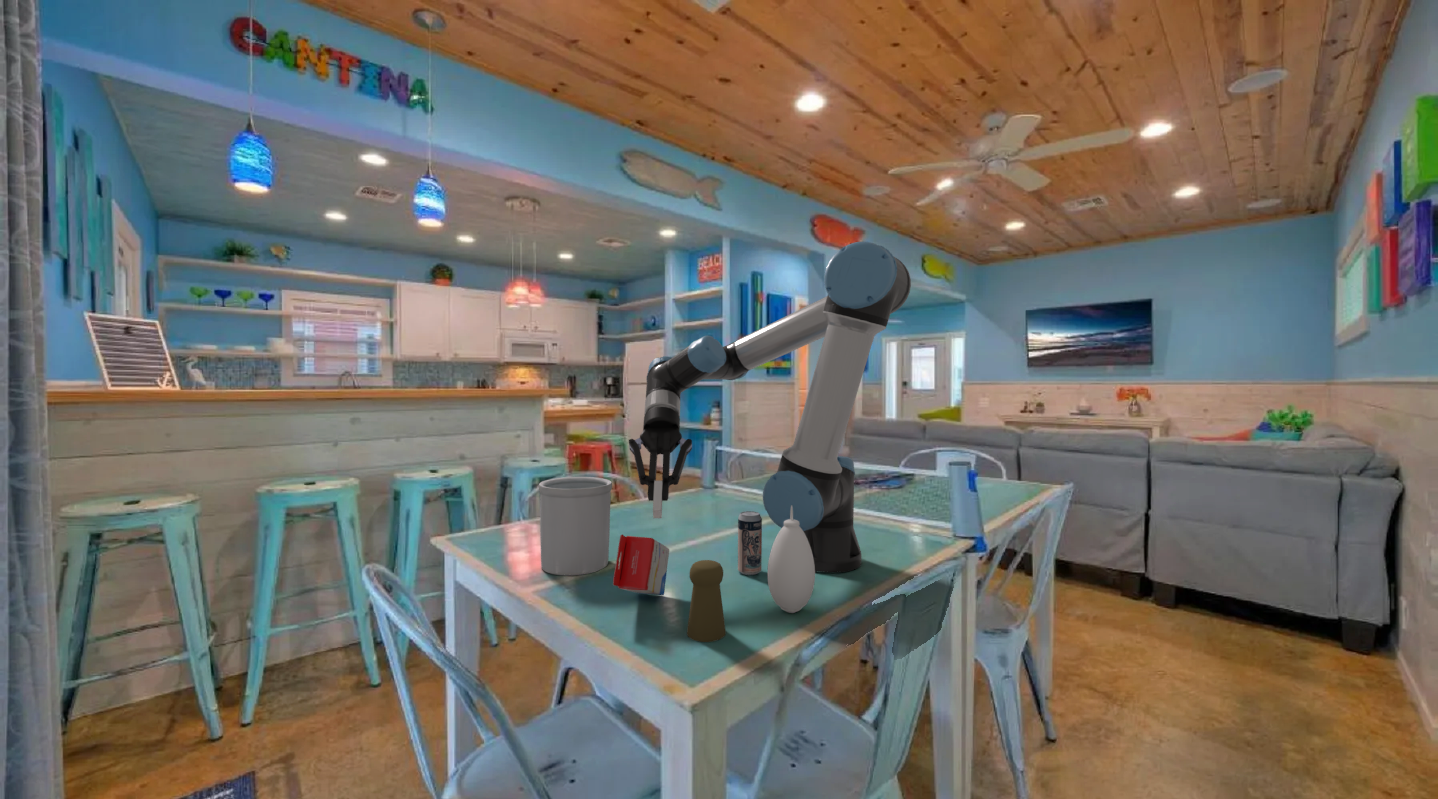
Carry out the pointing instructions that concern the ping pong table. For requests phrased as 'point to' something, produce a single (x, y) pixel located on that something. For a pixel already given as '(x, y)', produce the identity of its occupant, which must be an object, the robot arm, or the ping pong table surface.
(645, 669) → the ping pong table surface
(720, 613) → the cork
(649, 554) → the ink box
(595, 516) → the utensil holder
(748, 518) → the beer can
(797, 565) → the air blower bulb
